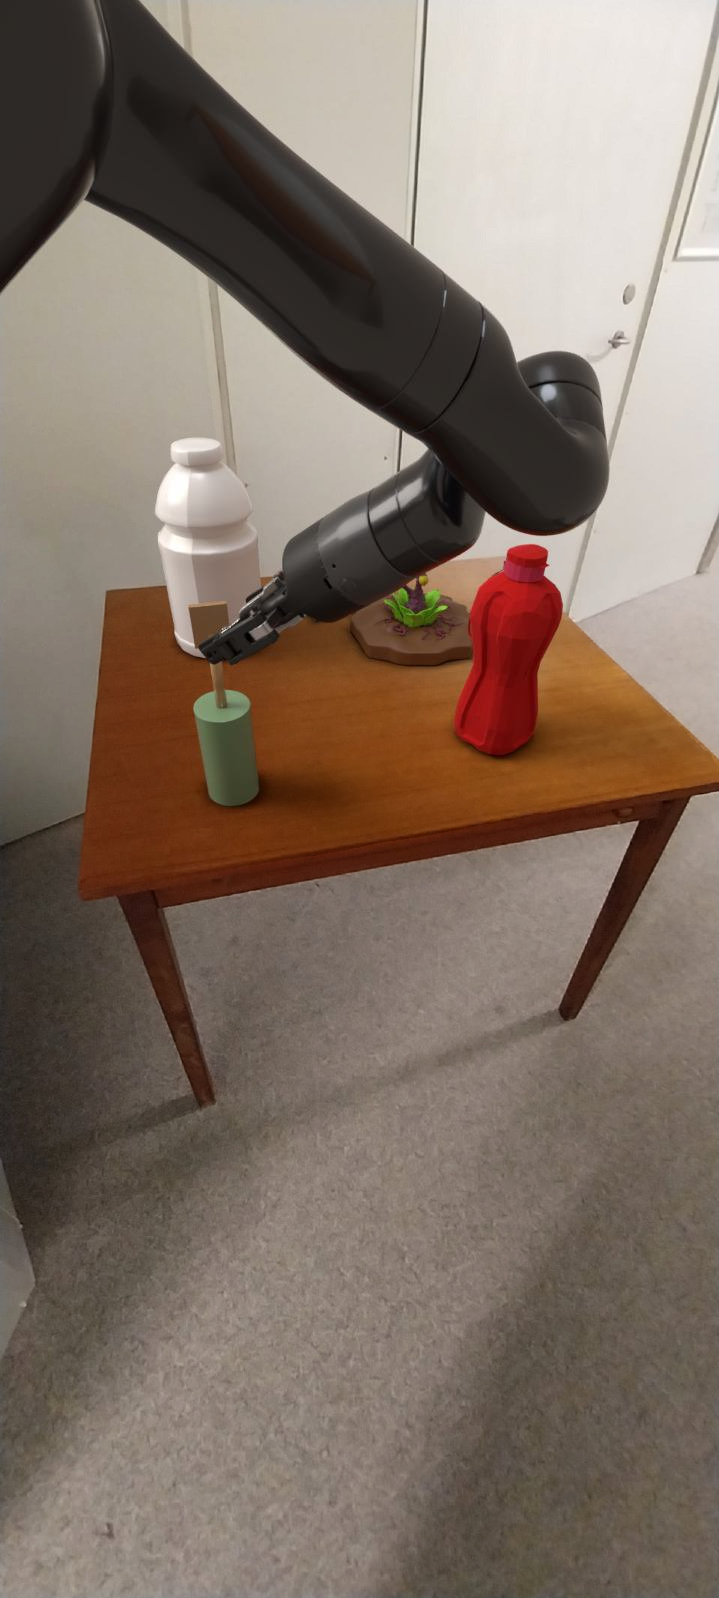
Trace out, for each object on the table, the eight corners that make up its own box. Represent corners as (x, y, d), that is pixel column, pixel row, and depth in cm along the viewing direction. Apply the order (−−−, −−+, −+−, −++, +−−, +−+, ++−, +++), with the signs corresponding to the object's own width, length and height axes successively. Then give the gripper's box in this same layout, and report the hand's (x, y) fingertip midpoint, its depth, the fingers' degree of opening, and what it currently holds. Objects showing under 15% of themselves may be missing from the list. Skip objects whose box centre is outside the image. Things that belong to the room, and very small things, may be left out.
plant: (359, 669, 99) (361, 599, 91) (345, 608, 113) (345, 542, 105) (490, 663, 101) (502, 593, 93) (459, 603, 115) (468, 539, 108)
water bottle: (477, 701, 94) (508, 520, 77) (541, 737, 88) (590, 550, 71) (433, 726, 89) (455, 540, 72) (497, 766, 83) (537, 574, 66)
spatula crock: (211, 810, 76) (177, 622, 60) (205, 776, 81) (172, 593, 64) (263, 801, 78) (243, 615, 62) (254, 769, 82) (234, 587, 66)
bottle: (251, 665, 99) (231, 463, 80) (163, 656, 101) (122, 455, 81) (275, 620, 109) (262, 432, 90) (194, 612, 111) (164, 425, 92)
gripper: (362, 479, 55) (242, 561, 66) (284, 557, 46) (159, 637, 57) (410, 557, 58) (288, 623, 69) (345, 644, 49) (217, 704, 60)
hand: (230, 629), depth 63 cm, fingers open, 8 cm apart
